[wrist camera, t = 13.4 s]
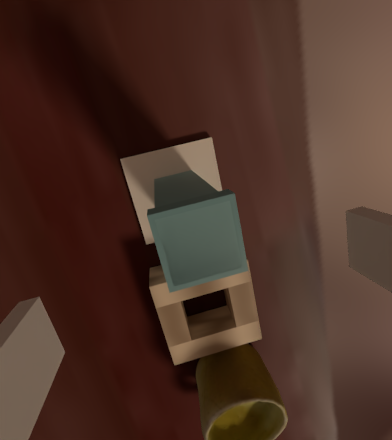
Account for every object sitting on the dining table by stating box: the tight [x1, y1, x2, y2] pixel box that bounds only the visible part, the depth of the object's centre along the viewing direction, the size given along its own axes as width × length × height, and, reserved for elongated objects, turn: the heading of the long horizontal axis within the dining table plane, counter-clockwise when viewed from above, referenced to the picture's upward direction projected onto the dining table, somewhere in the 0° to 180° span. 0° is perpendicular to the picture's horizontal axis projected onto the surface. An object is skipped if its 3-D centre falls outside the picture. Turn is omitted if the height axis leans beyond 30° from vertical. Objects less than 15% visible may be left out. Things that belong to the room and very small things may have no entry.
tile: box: [120, 137, 222, 245], centre depth 27 cm, size 9×9×1 cm
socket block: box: [149, 258, 262, 365], centre depth 29 cm, size 10×10×4 cm
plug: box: [147, 170, 248, 293], centre depth 20 cm, size 4×4×14 cm
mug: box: [196, 343, 288, 440], centre depth 32 cm, size 12×10×10 cm
